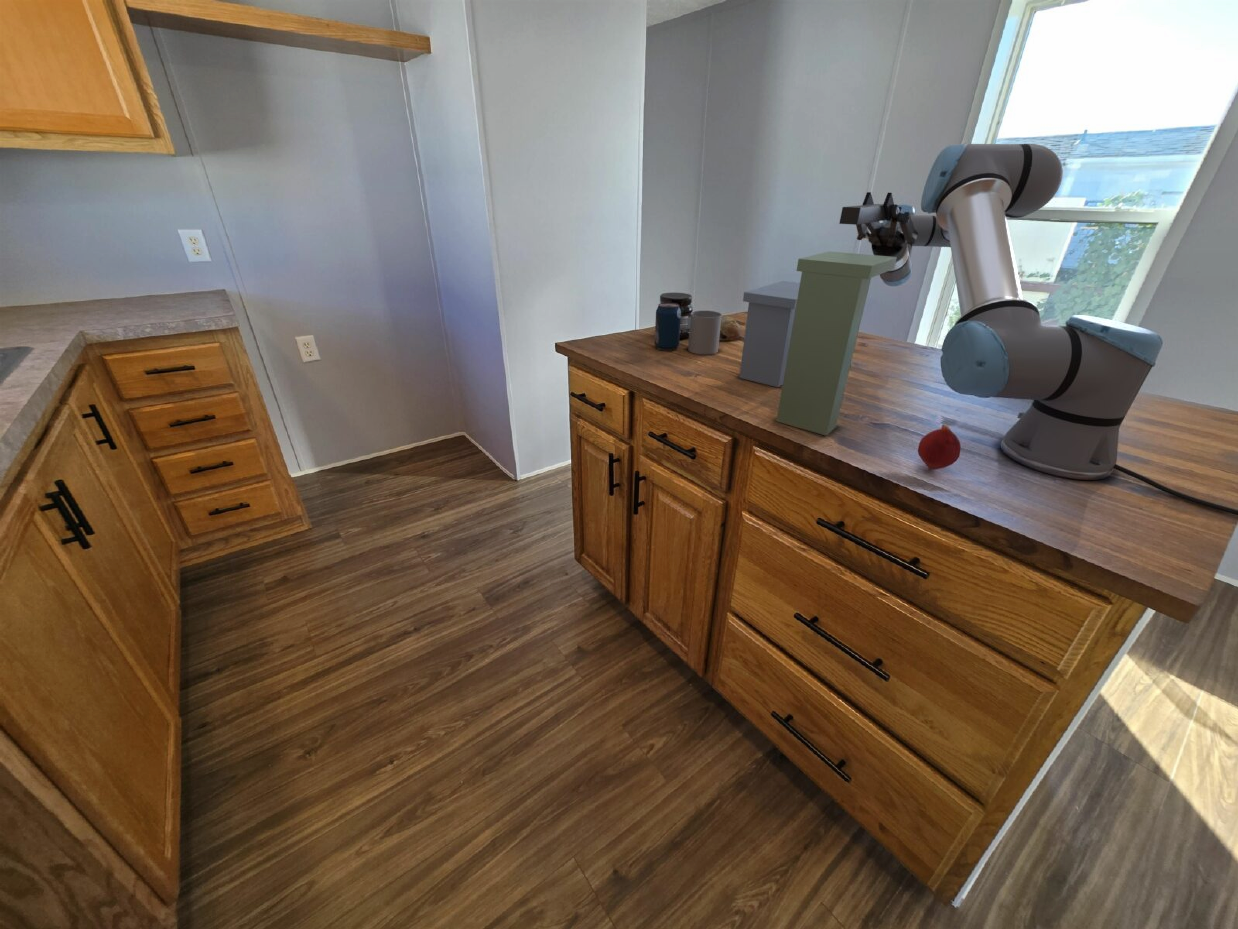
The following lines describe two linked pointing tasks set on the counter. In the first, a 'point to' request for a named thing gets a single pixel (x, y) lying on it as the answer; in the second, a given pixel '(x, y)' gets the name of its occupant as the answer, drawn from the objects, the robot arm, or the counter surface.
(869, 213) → the black bar
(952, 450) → the onion
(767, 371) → the grey lidded box
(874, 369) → the counter surface
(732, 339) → the bread roll
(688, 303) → the supplement container
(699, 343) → the cup
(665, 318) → the soda can
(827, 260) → the green capped pedestal
